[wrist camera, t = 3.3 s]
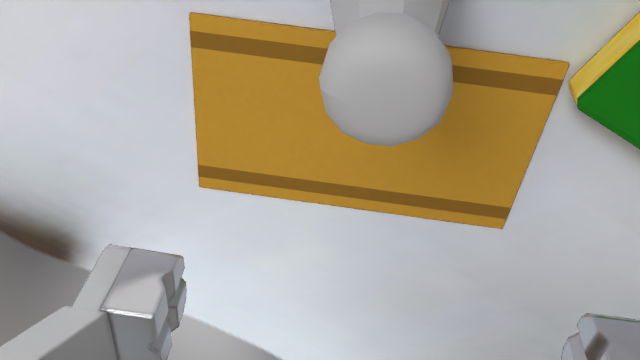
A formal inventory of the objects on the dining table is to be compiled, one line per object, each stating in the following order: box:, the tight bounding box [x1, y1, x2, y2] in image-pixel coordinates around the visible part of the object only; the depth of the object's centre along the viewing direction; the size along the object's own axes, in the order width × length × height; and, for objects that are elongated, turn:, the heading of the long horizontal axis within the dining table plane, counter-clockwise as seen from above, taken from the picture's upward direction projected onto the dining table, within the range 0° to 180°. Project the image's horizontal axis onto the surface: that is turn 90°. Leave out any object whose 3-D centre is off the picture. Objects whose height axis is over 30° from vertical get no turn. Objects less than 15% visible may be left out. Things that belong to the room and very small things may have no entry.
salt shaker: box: [319, 0, 453, 146], centre depth 23 cm, size 6×6×13 cm
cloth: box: [189, 13, 569, 229], centre depth 34 cm, size 12×20×1 cm, turn 85°
